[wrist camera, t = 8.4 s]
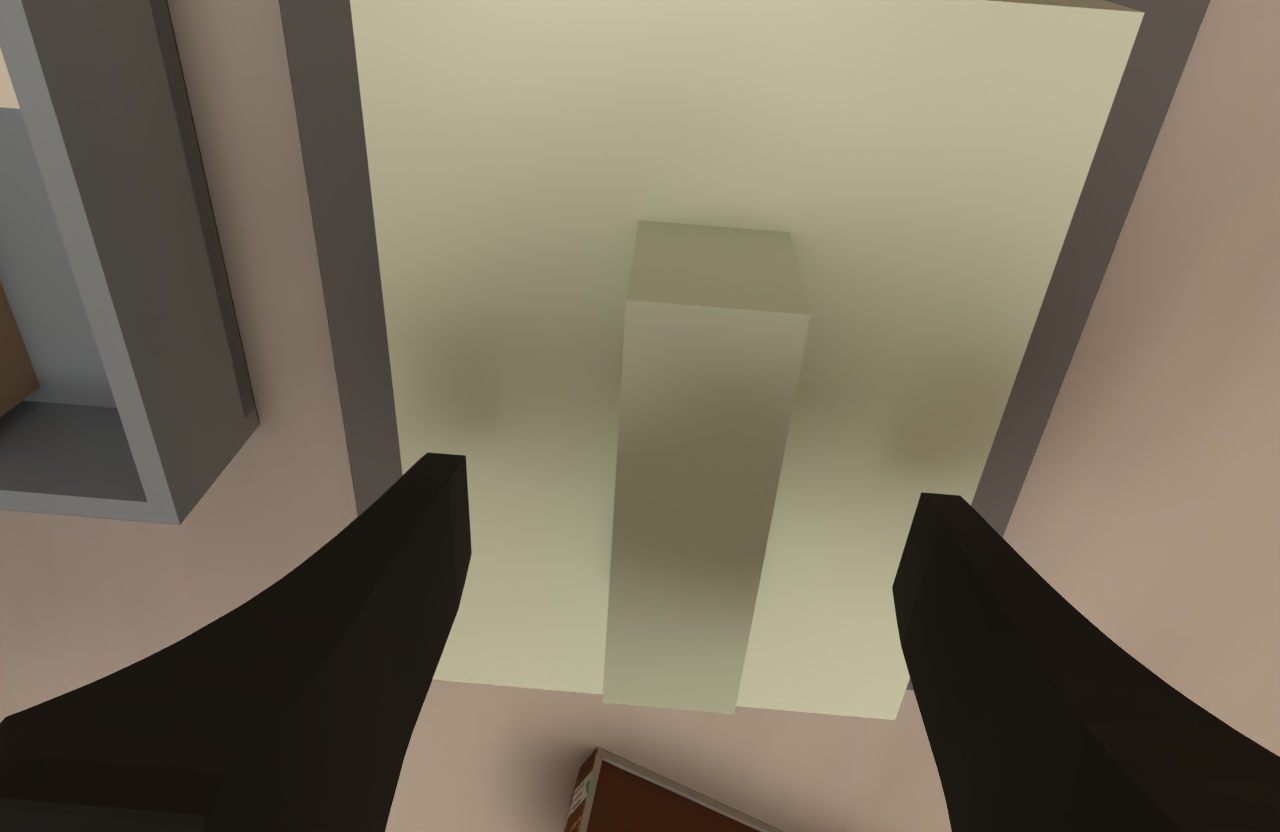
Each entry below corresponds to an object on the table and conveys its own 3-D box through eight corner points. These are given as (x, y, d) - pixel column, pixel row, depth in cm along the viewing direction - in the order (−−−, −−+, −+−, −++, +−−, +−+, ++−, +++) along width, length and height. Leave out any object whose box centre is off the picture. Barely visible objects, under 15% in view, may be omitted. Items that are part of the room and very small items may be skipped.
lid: (448, 610, 22) (386, 796, 17) (392, -60, 14) (247, -29, 9) (877, 647, 22) (924, 844, 17) (1082, -7, 13) (1271, 50, 9)
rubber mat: (381, 635, 23) (377, 644, 22) (259, -182, 13) (250, -184, 13) (939, 683, 23) (942, 692, 22) (1241, -110, 13) (1252, -110, 13)
